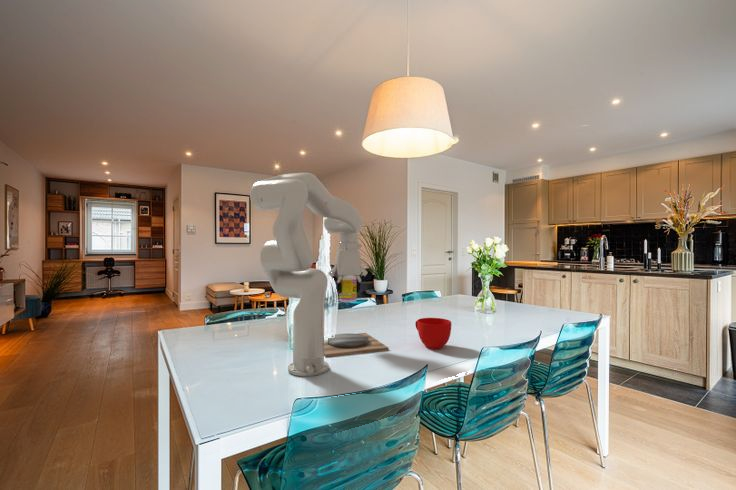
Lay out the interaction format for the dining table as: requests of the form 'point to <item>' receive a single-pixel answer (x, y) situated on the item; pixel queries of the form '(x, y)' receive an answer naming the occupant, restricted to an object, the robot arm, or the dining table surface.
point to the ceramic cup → (434, 332)
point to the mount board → (359, 350)
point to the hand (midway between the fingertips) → (348, 292)
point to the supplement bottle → (348, 288)
